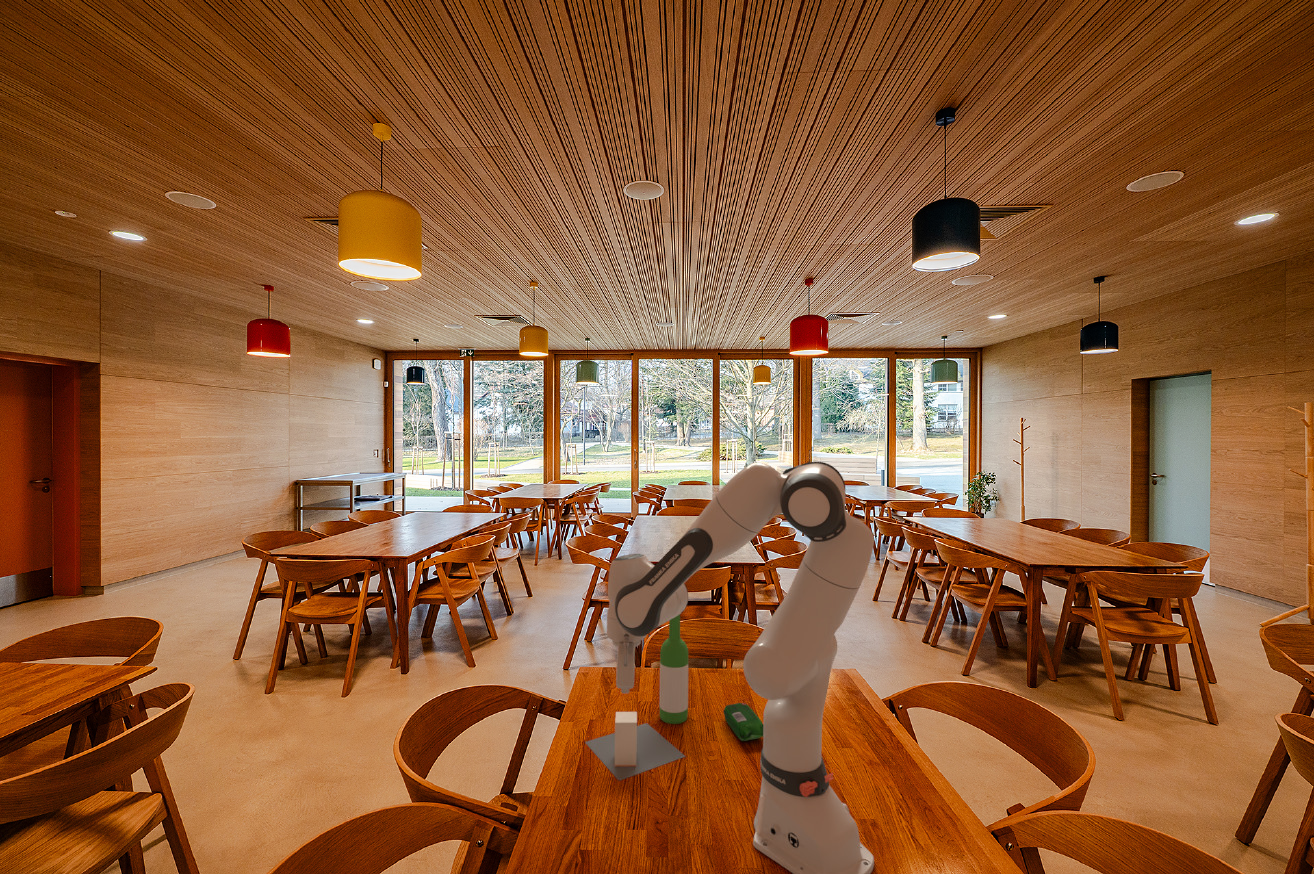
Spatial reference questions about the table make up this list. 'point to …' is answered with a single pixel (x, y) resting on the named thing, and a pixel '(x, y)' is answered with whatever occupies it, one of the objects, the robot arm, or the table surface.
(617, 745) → the block
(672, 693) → the wine bottle
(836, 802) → the robot arm
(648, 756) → the mat
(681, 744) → the table surface
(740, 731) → the snack package
